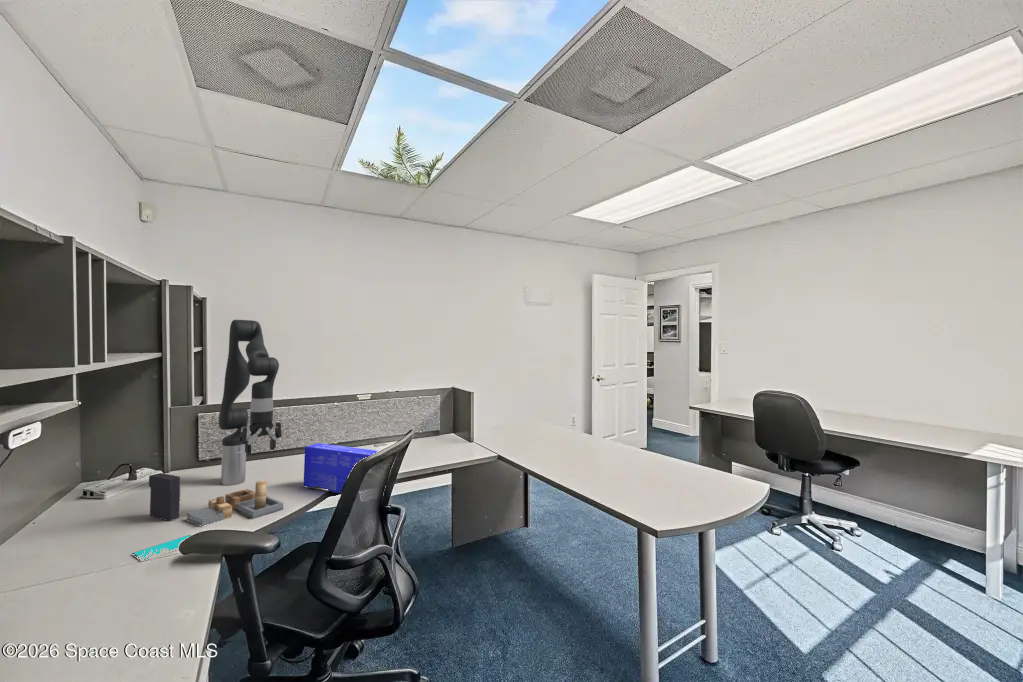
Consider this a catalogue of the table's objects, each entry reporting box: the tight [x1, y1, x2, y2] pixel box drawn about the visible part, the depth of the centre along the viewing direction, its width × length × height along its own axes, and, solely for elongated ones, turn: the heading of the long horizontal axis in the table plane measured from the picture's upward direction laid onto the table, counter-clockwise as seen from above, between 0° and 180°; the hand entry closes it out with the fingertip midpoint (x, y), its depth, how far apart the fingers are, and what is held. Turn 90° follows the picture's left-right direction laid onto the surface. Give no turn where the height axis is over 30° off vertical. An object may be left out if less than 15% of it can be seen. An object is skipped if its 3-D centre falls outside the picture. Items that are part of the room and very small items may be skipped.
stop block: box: [207, 496, 233, 520], centre depth 158 cm, size 12×3×6 cm, turn 56°
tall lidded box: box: [148, 472, 181, 521], centre depth 154 cm, size 11×4×15 cm, turn 71°
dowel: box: [254, 479, 268, 510], centre depth 163 cm, size 4×4×10 cm
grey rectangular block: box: [186, 506, 225, 527], centre depth 153 cm, size 10×7×3 cm
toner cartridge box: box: [302, 442, 378, 495], centre depth 186 cm, size 39×8×18 cm, turn 69°
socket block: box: [224, 488, 255, 510], centre depth 168 cm, size 8×8×4 cm
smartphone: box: [131, 534, 192, 561], centre depth 132 cm, size 7×1×15 cm
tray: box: [235, 495, 284, 520], centre depth 163 cm, size 13×11×2 cm
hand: (260, 451), depth 163 cm, fingers open, 8 cm apart
